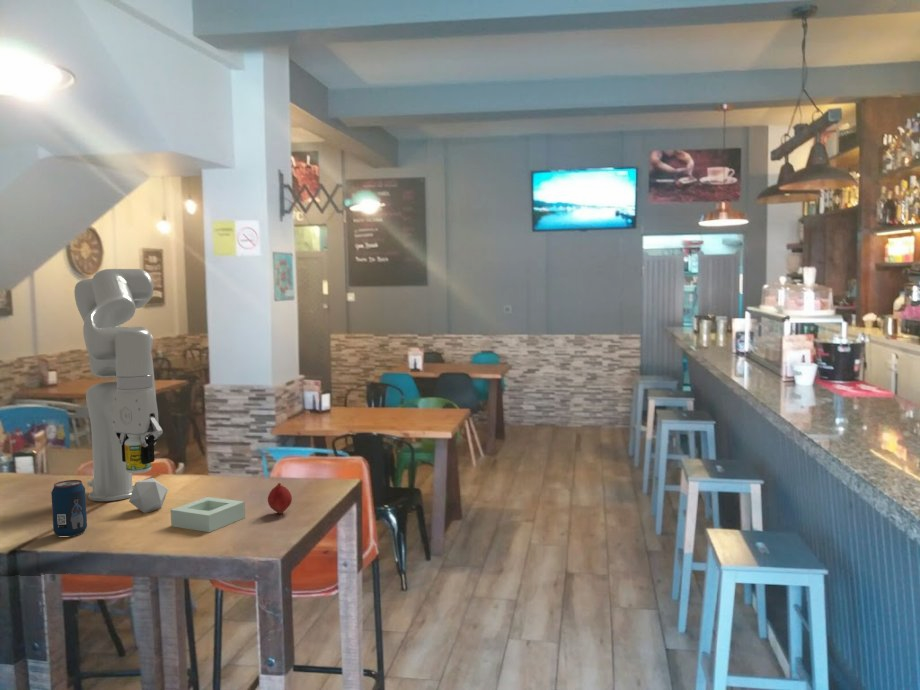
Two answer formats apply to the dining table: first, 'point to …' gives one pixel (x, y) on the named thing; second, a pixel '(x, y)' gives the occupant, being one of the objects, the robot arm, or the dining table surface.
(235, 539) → the dining table surface
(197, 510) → the sage block
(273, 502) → the onion
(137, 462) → the supplement bottle
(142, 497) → the die
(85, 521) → the soda can
